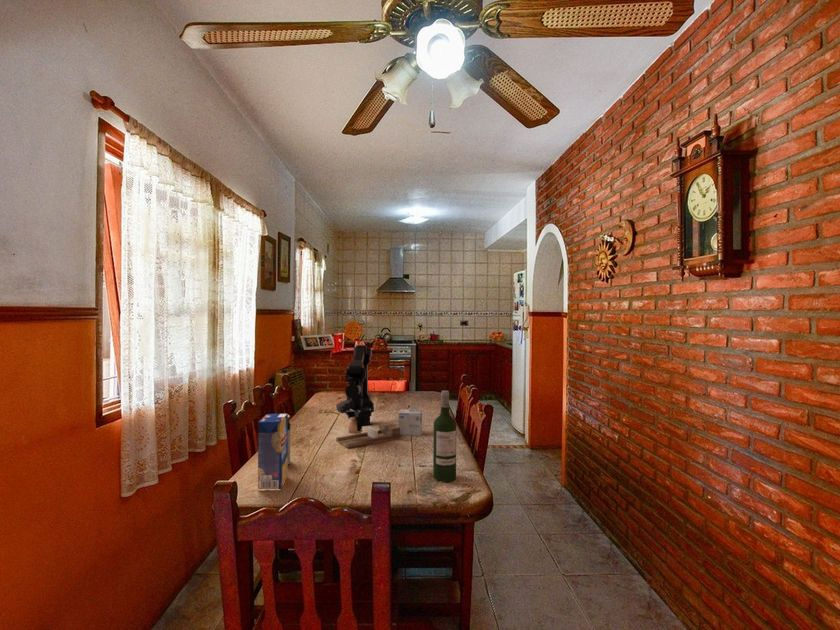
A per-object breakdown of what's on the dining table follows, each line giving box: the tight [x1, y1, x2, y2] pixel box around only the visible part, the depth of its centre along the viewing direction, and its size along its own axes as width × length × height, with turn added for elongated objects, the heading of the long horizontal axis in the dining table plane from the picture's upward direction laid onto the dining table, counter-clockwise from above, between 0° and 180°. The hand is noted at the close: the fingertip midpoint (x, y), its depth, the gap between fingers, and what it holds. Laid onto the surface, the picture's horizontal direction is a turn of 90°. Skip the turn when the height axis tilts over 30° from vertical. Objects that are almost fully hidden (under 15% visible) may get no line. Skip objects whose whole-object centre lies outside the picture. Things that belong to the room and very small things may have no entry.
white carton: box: [397, 408, 423, 437], centre depth 199 cm, size 11×7×11 cm, turn 84°
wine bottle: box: [432, 390, 457, 483], centre depth 145 cm, size 8×8×30 cm
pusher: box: [367, 426, 379, 438], centre depth 189 cm, size 7×1×4 cm, turn 35°
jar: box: [347, 417, 363, 435], centre depth 185 cm, size 6×6×6 cm
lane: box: [335, 422, 401, 449], centre depth 188 cm, size 11×26×5 cm, turn 125°
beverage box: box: [257, 413, 289, 490], centre depth 139 cm, size 7×11×22 cm, turn 6°
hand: (355, 429), depth 185 cm, fingers closed on jar, 6 cm apart
